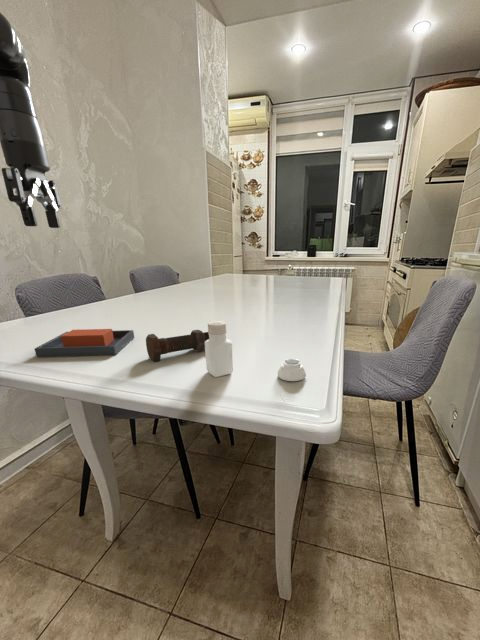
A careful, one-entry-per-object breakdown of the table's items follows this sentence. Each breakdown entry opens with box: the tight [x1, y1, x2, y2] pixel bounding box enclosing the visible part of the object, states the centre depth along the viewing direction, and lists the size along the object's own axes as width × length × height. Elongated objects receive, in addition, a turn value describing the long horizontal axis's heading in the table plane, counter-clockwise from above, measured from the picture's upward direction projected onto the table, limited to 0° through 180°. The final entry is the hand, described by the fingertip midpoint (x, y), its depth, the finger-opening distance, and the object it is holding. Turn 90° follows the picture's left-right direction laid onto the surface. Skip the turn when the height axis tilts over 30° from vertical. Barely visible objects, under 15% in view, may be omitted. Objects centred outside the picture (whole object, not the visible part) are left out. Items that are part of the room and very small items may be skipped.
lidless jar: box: [277, 358, 307, 382], centre depth 52 cm, size 5×3×5 cm
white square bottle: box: [204, 320, 234, 378], centre depth 52 cm, size 4×4×10 cm
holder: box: [33, 329, 135, 358], centre depth 67 cm, size 16×12×2 cm
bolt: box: [145, 329, 209, 363], centre depth 63 cm, size 6×5×15 cm
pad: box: [61, 328, 114, 347], centre depth 67 cm, size 9×5×3 cm, turn 95°
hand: (43, 227), depth 66 cm, fingers open, 8 cm apart
